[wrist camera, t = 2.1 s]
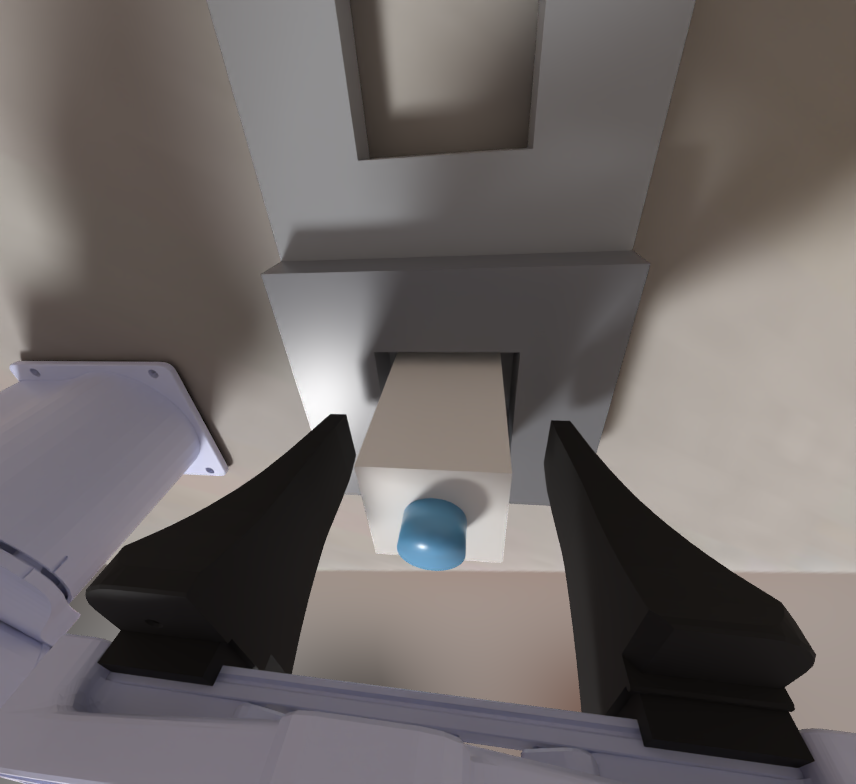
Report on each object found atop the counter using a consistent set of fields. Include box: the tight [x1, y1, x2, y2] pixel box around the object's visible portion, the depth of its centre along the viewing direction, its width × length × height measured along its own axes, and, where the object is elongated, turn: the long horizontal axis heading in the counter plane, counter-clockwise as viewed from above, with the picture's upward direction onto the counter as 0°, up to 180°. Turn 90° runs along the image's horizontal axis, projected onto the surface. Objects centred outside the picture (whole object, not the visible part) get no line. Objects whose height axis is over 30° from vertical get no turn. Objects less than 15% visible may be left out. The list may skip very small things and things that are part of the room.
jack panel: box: [206, 0, 696, 506], centre depth 12 cm, size 12×22×3 cm, turn 4°
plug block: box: [354, 352, 512, 571], centre depth 13 cm, size 4×4×8 cm
